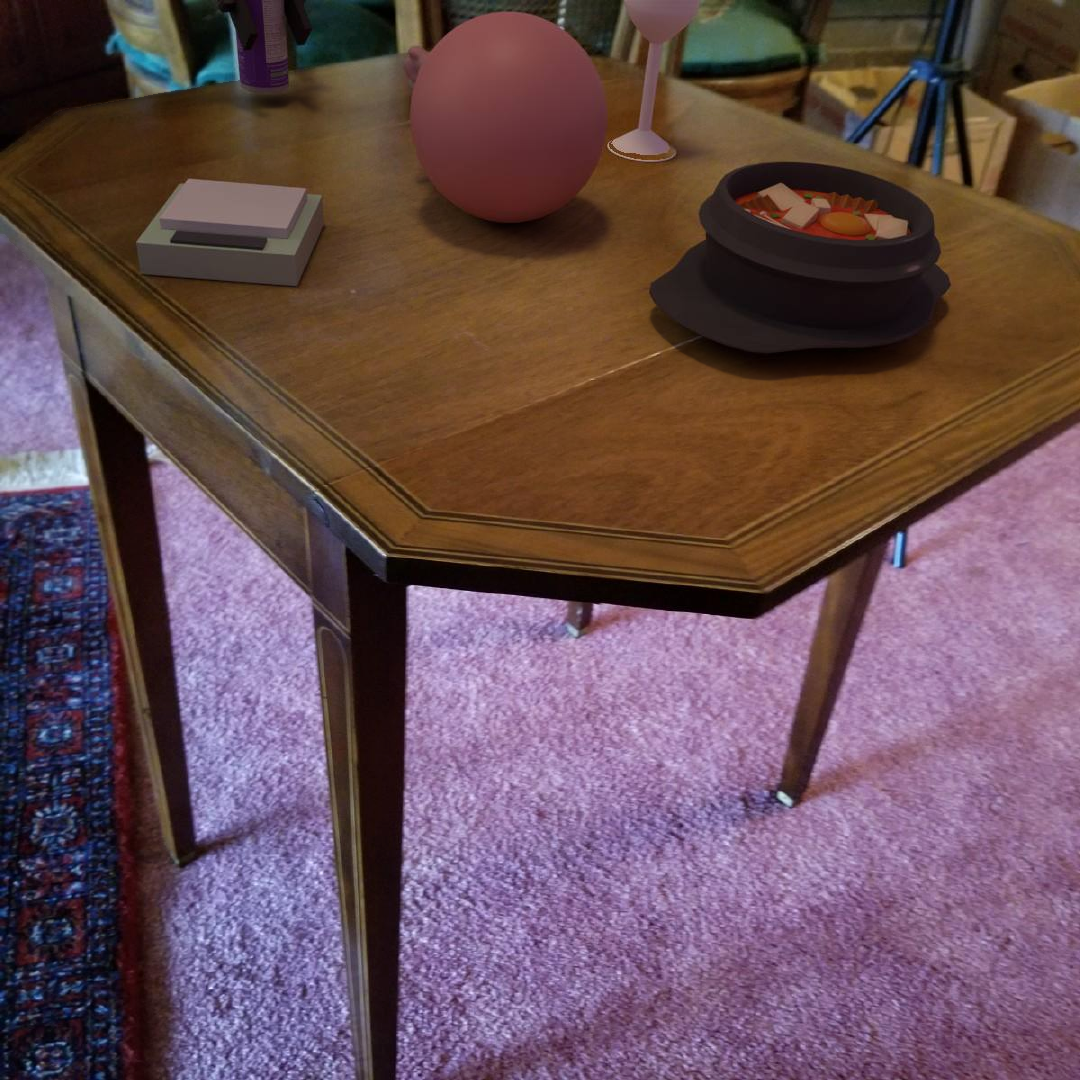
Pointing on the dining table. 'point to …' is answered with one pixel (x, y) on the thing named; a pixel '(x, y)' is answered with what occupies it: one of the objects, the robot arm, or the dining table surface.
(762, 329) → the casserole
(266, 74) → the container
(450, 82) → the balloon
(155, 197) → the dining table surface
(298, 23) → the robot arm
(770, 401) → the dining table surface
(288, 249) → the scale
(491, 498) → the dining table surface
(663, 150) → the champagne flute
